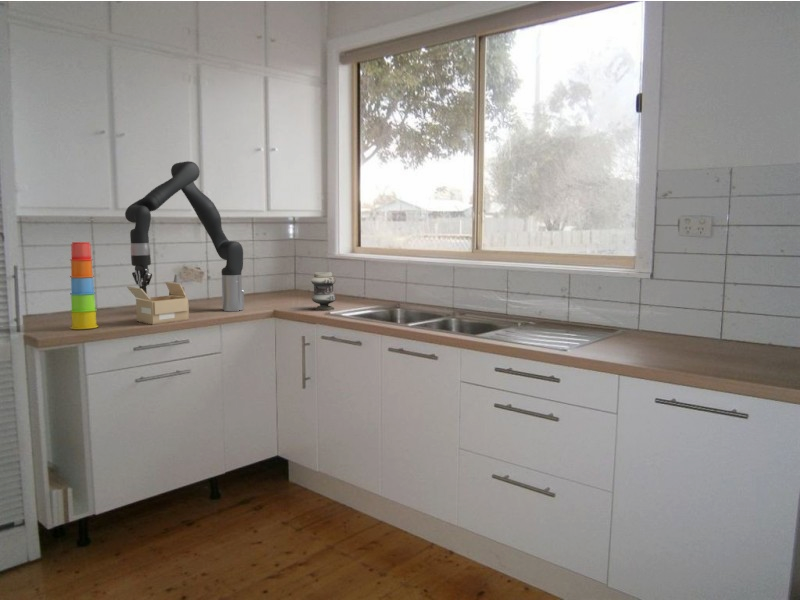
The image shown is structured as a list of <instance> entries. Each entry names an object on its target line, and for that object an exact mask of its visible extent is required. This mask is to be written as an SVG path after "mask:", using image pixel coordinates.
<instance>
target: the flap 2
mask: <svg viewBox="0 0 800 600" xmlns="http://www.w3.org/2000/svg"><path fill="white" fill-rule="evenodd" d="M173 282H174V281H173ZM173 282H172V281H164V283H165V285H166V287H167V289H168V291H170V293H171V294H175V295H182V296H185V297H186V296H187V294H186V291H185V289H184V290H183V288H182V287H183V285H182V286H181V284H180V283H173ZM184 291H185V292H184Z"/></svg>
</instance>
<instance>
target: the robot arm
mask: <svg viewBox="0 0 800 600" xmlns="http://www.w3.org/2000/svg"><path fill="white" fill-rule="evenodd" d="M170 174H171V178H170V179H168V180H166V181H165V182H163V183H161V184H158V186H156V187H155V188H153V189H151V190H150V191H149V192H148V193H147V194H146V195H144V197H142V198H141V199H139V200H137V201H135V202H133V203H132V204H130V205H129V206H128V207H127V208H126V209H125V212H124V216H125V219H126V220H127V221H128V222H129V223H133V224H135V225H134V228H132V229H131V230H130V232H129V234H130V235H129V238H130V260H131V261H130V262H131V265H132V266H133V267H134V272H132V273H131V274H132V278H133V279H134V282H135V284H136V285H138V287H139V288H141V289H143V290H144V292H145V293H146V294H147V295H148V293H147V292H148V291H147V287H148V286H150V283H151V279H152V277H153V273H150V272H149V271H150V270H149V269H150V268H149V266H150V265H152V260H151V247H150V243H149V241H150V240H149V239H150V238H149V231H150V226H151V221H152V215H151V212H154V211H157V210H158V209H159V208H160V207H161V206H163V205H164V204H165V203H166V202H167V201H168V200H169V199H171V198H172V197H173V196H174V195H175V194H177V193H178V192H179V191H182V193H183V194H184V196H185V197H186V199H187V202H188V203H189V204H190V206H191V207H192V209H193V210H194V212H195V214H196V216H197V218H198V219H199V221H200V223H201V224H202V226H203V228H204V229H205V231H206V233H207V234H208V236H209V237H210V240H211V242H212V245H213V247H214V249H215V251H216V253H217V255H218V256H219V257H220V259H222V260H224V261H226V264H225V267H223V268H222V269H221V290H222V291H221V294H222V311H223V310H224V311H223V312H239V310H240V311H243V309H244V310H245V291H244V289H243V283H242V282H243V281H242V280H243V279H242V270H243V269H244V268H243V267H244V249H243V245H242V244H241V243H240V242H238V241H235V240H233V241H232V240H229V239H228V237H227V236H226V235H225V233H224V231H223V227H222V217H221V213H220V211H219V210H218V208H217V206H216V205H215V203H214V202H213V201H212V200H211V199H210V198H209V197H208V196H207V195H206V194H205V193H204V192H202V191H201V190H200V189H199V188H198V187H197V185H196V183H195V181H197V180H198V178H199V177H200V174H201V173H200V168H199V166H198V165H197V163H196V162H193V161H189V160H187V161H180V162H176V163H174V164H172V167H171V169H170Z"/></svg>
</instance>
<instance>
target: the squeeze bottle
mask: <svg viewBox="0 0 800 600" xmlns="http://www.w3.org/2000/svg"><path fill="white" fill-rule="evenodd" d="M173 283H180V284H181V286H182V288H183V290H184V292H185V293H186V291H185V287H184V286H183V284H182V283H183V282H181V281H180V278H179V275H178V274H174V279H173ZM168 291H169V290H168ZM170 295H173V296H179V297H186V296H182V295H175V294H171V293H170V291H169V293H168V296H170Z"/></svg>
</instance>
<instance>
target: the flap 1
mask: <svg viewBox="0 0 800 600" xmlns="http://www.w3.org/2000/svg"><path fill="white" fill-rule="evenodd" d="M126 287H127V288H126V289H128V290H129V292H130V293H131V294H132V295H133V296H134V297H135V299H140V298H142V299H148V300H151V299H150V296H149V295H148V293H147V294H146V293H145V292H144V290H143V289H141V288H140V287H133V286H126Z"/></svg>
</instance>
